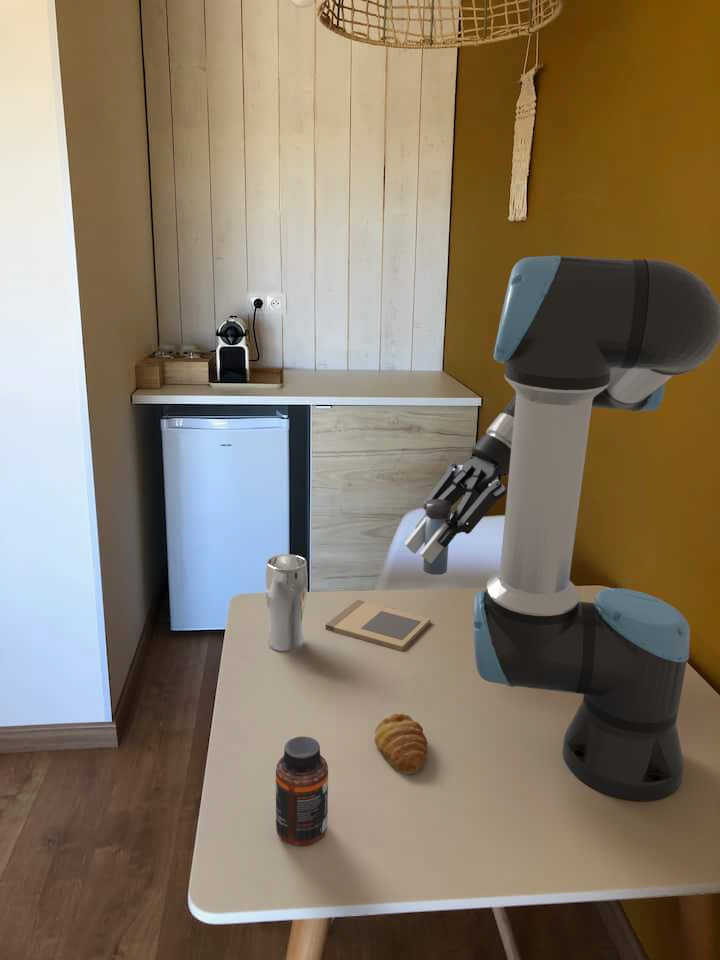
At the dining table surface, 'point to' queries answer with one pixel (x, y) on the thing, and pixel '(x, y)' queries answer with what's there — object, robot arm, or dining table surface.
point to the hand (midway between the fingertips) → (417, 553)
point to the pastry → (402, 743)
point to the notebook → (378, 624)
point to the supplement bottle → (301, 793)
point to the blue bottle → (434, 519)
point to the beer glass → (286, 600)
